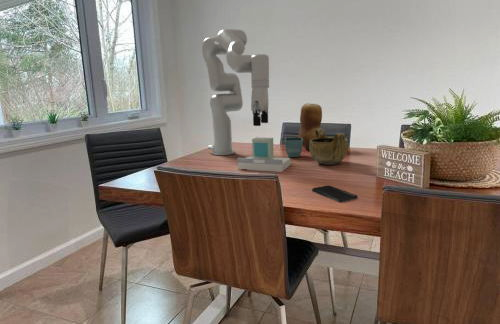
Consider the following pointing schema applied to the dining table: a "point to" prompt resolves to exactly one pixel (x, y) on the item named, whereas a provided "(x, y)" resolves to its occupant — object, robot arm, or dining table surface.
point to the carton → (262, 148)
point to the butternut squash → (309, 122)
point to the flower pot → (293, 146)
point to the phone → (334, 193)
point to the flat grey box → (264, 164)
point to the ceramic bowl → (328, 148)
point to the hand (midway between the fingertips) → (260, 124)
